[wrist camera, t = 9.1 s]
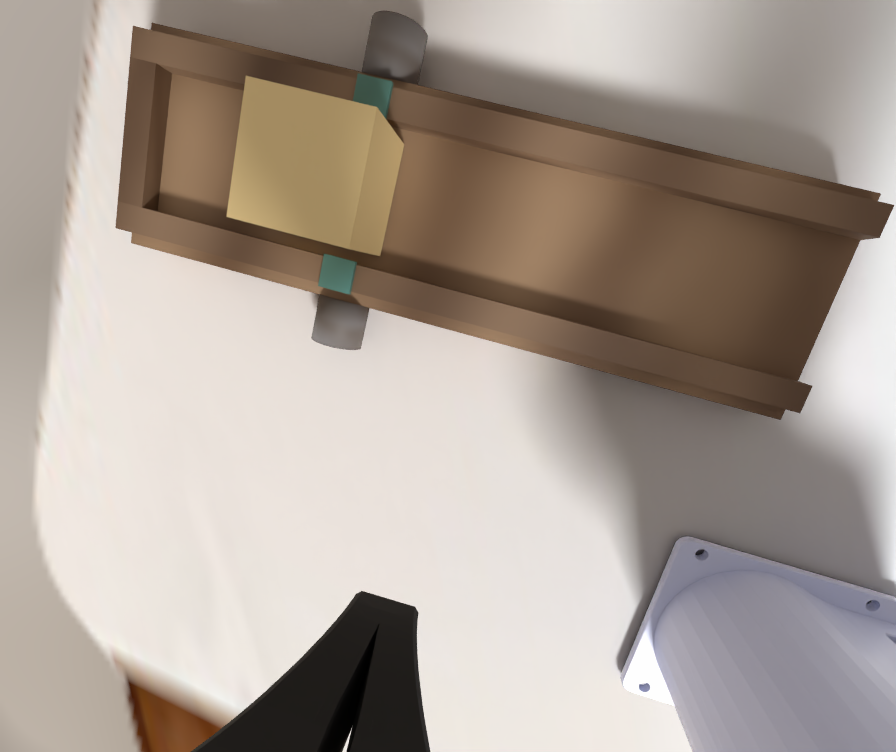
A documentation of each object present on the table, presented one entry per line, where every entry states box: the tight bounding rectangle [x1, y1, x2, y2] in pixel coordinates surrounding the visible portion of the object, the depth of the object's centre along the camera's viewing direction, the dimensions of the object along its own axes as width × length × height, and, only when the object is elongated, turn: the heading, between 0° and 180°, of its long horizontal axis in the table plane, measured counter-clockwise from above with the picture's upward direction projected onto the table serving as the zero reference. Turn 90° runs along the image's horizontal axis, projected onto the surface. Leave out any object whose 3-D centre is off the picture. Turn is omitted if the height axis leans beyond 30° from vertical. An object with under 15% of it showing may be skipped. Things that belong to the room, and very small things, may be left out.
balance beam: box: [116, 11, 894, 420], centre depth 17 cm, size 26×12×2 cm, turn 76°
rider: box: [226, 76, 404, 256], centre depth 15 cm, size 4×4×4 cm
